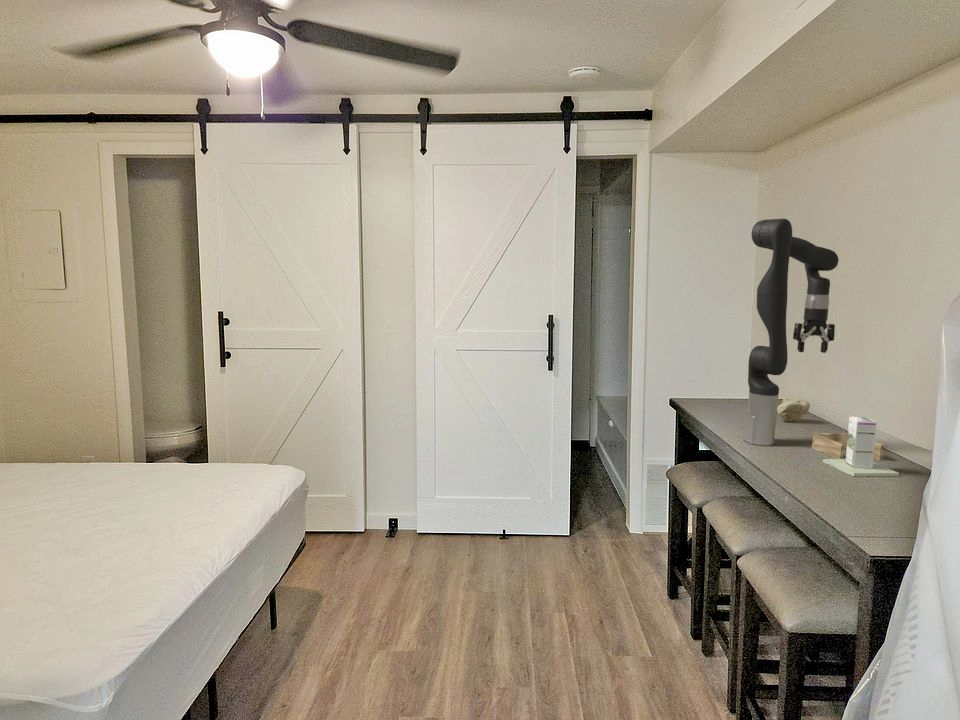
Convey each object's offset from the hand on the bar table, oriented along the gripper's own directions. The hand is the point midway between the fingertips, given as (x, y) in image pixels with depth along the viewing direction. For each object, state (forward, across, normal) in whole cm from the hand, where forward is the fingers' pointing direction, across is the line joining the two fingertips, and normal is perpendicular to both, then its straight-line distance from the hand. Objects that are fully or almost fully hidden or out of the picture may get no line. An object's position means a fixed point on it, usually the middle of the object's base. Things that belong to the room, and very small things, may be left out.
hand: (812, 352), depth 230 cm
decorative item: (+30, +6, +18) cm, 36 cm away
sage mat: (+30, -9, -42) cm, 52 cm away
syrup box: (+29, -9, -42) cm, 52 cm away
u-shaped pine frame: (+30, -2, -26) cm, 40 cm away
